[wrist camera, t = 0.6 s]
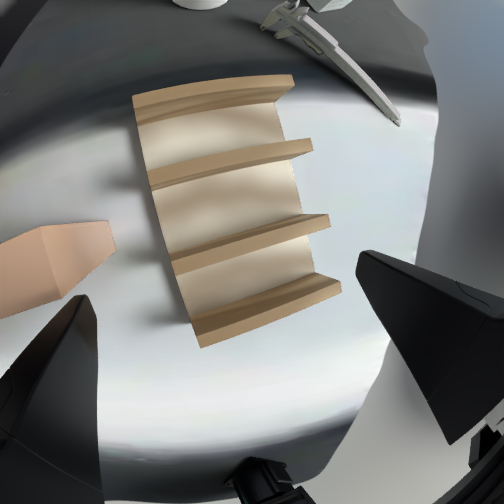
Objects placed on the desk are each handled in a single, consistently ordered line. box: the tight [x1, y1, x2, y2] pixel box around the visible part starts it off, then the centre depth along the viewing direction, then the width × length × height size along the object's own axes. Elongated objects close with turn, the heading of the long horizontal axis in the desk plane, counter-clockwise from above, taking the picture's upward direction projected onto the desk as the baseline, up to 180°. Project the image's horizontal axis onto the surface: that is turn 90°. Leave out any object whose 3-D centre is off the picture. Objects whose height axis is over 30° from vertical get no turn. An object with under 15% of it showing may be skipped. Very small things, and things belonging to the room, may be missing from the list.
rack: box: [132, 75, 342, 348], centre depth 21 cm, size 18×12×5 cm, turn 14°
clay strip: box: [0, 221, 117, 319], centre depth 13 cm, size 2×6×14 cm, turn 105°
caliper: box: [260, 0, 401, 127], centre depth 23 cm, size 20×1×6 cm, turn 66°
